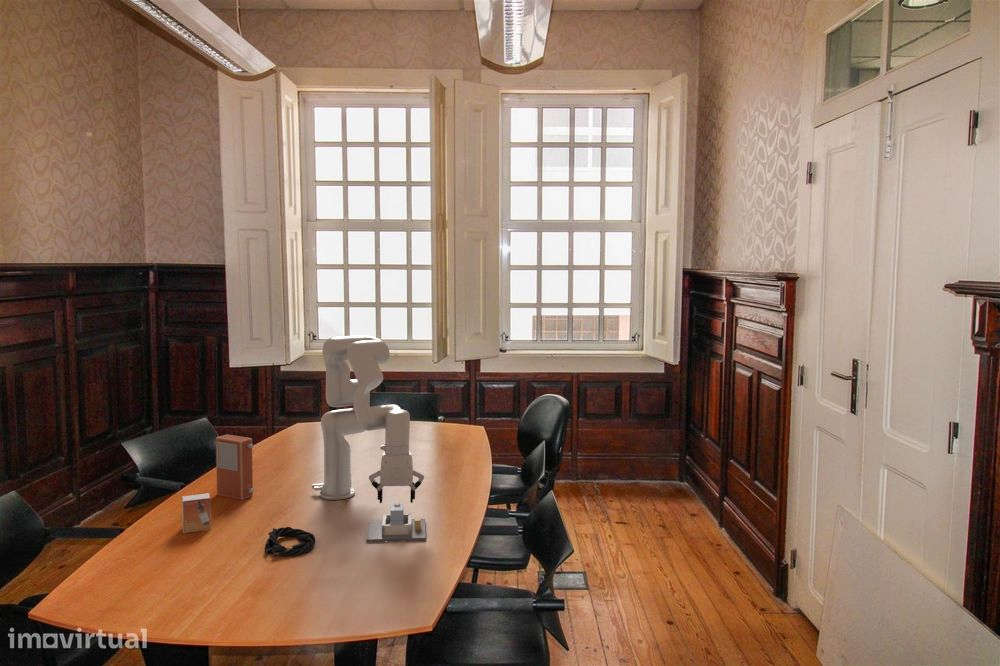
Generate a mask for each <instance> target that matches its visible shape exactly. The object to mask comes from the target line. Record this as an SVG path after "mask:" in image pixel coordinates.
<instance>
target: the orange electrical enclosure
mask: <svg viewBox="0 0 1000 666" xmlns="http://www.w3.org/2000/svg"><path fill="white" fill-rule="evenodd" d="M253 447H254V444H253V438H251V437H246V436H240V435H239V436H238V435H234V434H224V435H220V436H216V437H215V468H216V470H215V471H216V472H215V473H216V494H217V495H218V496H222V497H227V498H232V499H237V500H245V499H248V498H251V497H253V496H254V491H255V489H254V479H253V478H254V477H253V476H254V475H253V474H254V473H253V471H254V470H253V469H254V467H253V465H254V464H253Z"/></svg>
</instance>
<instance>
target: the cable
mask: <svg viewBox="0 0 1000 666" xmlns="http://www.w3.org/2000/svg"><path fill="white" fill-rule="evenodd" d="M267 534H268V538H267V539H266V542H265V546H264V553H265V554H269V553H272V555H273V556H275V554H278V555H279V556H283V557H289V558H293V557H296V556H297V557H298V556H299V555H302V554H303V555H304V554H308V553H309V552H310V551H311V550H312V549H313V547H314V546H315V543H316V537H315V535H314V534H313V533H312V532H310V531H309V532H308V531H306V530H303V529H300V528H292V527H291V526H286V527H279V528H275V527H273V528H272V531H269V532H268V533H267ZM294 537H296V538H297V540H300V541H301V540H302V541H303V540H305V541H306V542H301V543H297V544H294V545H292V546H291V547H286V546H284V545H282V544H280V543H279V542H278V538H294Z"/></svg>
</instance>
